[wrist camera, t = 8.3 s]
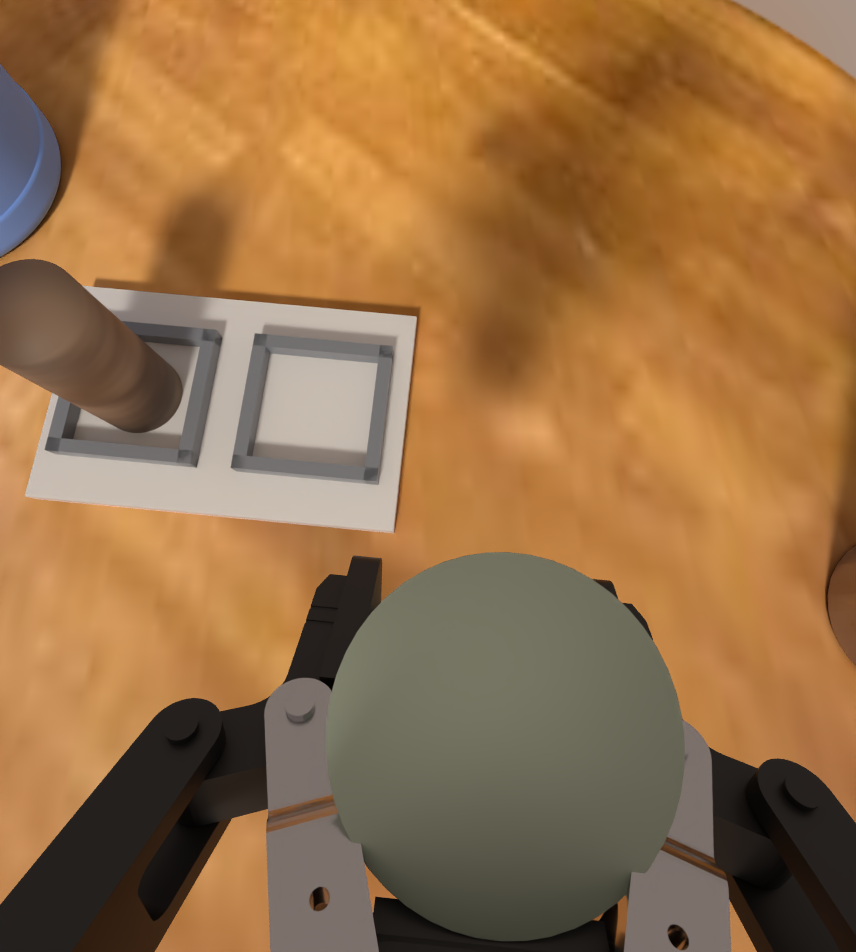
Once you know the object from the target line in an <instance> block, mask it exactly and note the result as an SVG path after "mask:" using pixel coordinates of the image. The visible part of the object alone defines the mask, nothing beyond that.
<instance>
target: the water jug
mask: <svg viewBox="0 0 856 952" xmlns="http://www.w3.org/2000/svg"><path fill="white" fill-rule="evenodd" d="M60 174H61V157H60V150H59V146H58V142H57V139H56V136H55V134H54V131H53V129H52V127H51V125H50V123H49V122H48V120H47V119H46V117H45V116H44V114H43V113H42V112H41V111H40V109H39V108H38V107H37V106H36V104H35V103H34V102H33V100H32V99H31V98H30V97H29V95H28V94H27V93H26V92H25V91H24V90H23V89H22V88H21V87H20V86H19V85H18V84H17V83H16V82H15V81H14V80H13V79H12V78H11V76H10V75H9V74H8V73H7V71H6V70H5V69H4V68H3V66H2V65H1V64H0V257H1V256H3V255H5V254H6V253H8V252H9V251H11V250H12V249H14V248H15V247H16V246H18V245H19V244H20V243H21V242H23V241H24V240H25V239H26V238H27V237H28V236H29V235H30V234H31V233H32V232H33V231H34V230H35V229H36V228H37V226H38V225H39V224H40V223H41V221H42V220H43V218H44V217H45V215H46V214H47V212H48V210H49V209H50V207H51V205H52V203H53V200H54V198H55V195H56V193H57V189H58V186H59V181H60Z"/></svg>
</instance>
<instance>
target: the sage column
mask: <svg viewBox="0 0 856 952" xmlns="http://www.w3.org/2000/svg"><path fill="white" fill-rule="evenodd" d="M326 757H327V767H328V776H329V780H330V785H331V789H332V794H333V798H334V801H335V804H336V807H337V810H338V813H339V816H340V818H341V821H342V824H343V826H344V828H345V830H346V832H347V834H348V836H349V838H350V840H351V842H352V843H358V844H361V847H362V853H363V859H364V863H365V864H366V866H367V867H368V869H369V870H370V871H371V872H372V873H373V874H374V876H375V877H376V878H377V879H378V880H379V881H380V882H381V883H382V885H383V886H384V887H385V888H386V889H387V890H388V891H389V892H390V893H392V894H393V895H394V896H395V897H396V898H397V899H399V900H400V901H401V902H402V903H403V904H404V905H406V906H407V907H408V908H410V909H412V910H413V911H415V912H416V913H418V914H419V915H421V916H422V917H424V918H426V919H427V920H429V921H431V922H433V923H435V924H438V925H440V926H442V927H444V928H446V929H449V930H451V931H454V932H457V933H461V934H464V935H467V936H471V937H474V938H480V939H487V940H495V941H529V940H534V939H540V938H546V937H552V936H554V935H557V934H560V933H563V932H566V931H569V930H572V929H575V928H577V927H579V926H581V925H583V924H585V923H587V922H589V921H591V920H593V919H595V918H597V917H598V916H600V915H601V914H602V913H604V912H605V911H607V910H608V909H609V908H611V907H612V906H613V905H615V904H616V903H618V902H619V901H620V900H621V899H622V898H623V897H624V896H625V895H626V892H627V888H628V884H629V880H630V876H631V872H636V873H646V871H647V870H648V869H649V867H650V866H651V865H652V863H653V862H654V860H655V858H656V856H657V855H658V853H659V851H660V849H661V848H662V846H663V844H664V842H665V840H666V838H667V835H668V833H669V830H670V828H671V825H672V823H673V821H674V818H675V814H676V811H677V807H678V803H679V799H680V796H681V790H682V783H683V775H684V766H685V740H684V731H683V721H682V715H681V711H680V706H679V702H678V698H677V693H676V690H675V688H674V685H673V682H672V679H671V676H670V674H669V671H668V668H667V666H666V664H665V662H664V660H663V658H662V656H661V654H660V652H659V650H658V648H657V647H656V645H655V644H654V642H653V641H652V639H651V638H650V636H649V634H648V633H647V631H646V630H645V628H644V627H643V626H642V625H641V623H640V622H639V621H638V620H637V619H636V617H635V616H634V615H633V614H632V613H631V612H630V610H629V609H628V608H627V607H626V606H625V605H624V604H622V603H621V602H620V601H619V600H618V599H617V598H616V597H615V596H614V595H613V594H612V593H610V592H609V591H608V590H606V589H605V588H604V587H602V586H601V585H599V584H598V583H597V582H595V581H594V580H593V579H591V578H589V577H587V576H585V575H583V574H582V573H580V572H578V571H576V570H574V569H572V568H570V567H567V566H565V565H562V564H560V563H557V562H555V561H552V560H549V559H545V558H541V557H537V556H533V555H527V554H519V553H510V552H495V553H481V554H474V555H467V556H463V557H459V558H456V559H452V560H449V561H445V562H443V563H440V564H438V565H436V566H433V567H431V568H429V569H426V570H424V571H422V572H421V573H419V574H417V575H416V576H414V577H413V578H411V579H409V580H408V581H406V582H404V583H403V584H402V585H401V586H399V587H398V588H397V589H396V590H394V591H393V592H392V593H391V594H389V595H388V596H387V597H386V598H385V599H384V600H383V601H382V602H381V603H380V604H379V605H378V606H377V607H376V608H375V609H374V610H373V611H372V613H371V614H370V615H369V616H368V618H367V619H366V621H365V622H364V623H363V625H362V626H361V627H360V629H359V630H358V631H357V633H356V635H355V637H354V638H353V640H352V642H351V644H350V645H349V647H348V649H347V651H346V653H345V655H344V657H343V660H342V662H341V665H340V667H339V670H338V672H337V675H336V678H335V682H334V685H333V689H332V693H331V696H330V702H329V708H328V715H327V722H326Z"/></svg>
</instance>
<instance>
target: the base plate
mask: <svg viewBox="0 0 856 952" xmlns="http://www.w3.org/2000/svg"><path fill="white" fill-rule="evenodd" d="M83 287H84V288H85V289H86V290H87V291H88V292H90V293H91V294H92V295H93V296H94V297H95V298H96V299H97V300H98V301H100V302H101V303H102V304H103V305H104V306H105V307H106V308H107V309H108V310H110V311H111V312H112V313H113V314H114V315H115V316H116V317H117V318H118V319H120V320H121V321H122V322H123V323H124V324H125V325H126V326H127V327H128V328H130V329H131V330H132V331H133V332H134V333H135V334H136V335H137V336H138V337H140V338H141V339H142V340H143V341H144V342H145V343H146V344H147V345H148V346H149V347H151V348H152V349H153V350H154V351H155V352H156V353H157V354H158V355H159V356H161V357H162V358H163V359H164V360H165V361H166V362H167V363H168V364H169V365H171V366H172V367H173V368H174V369H175V371H176V372H177V373H178V375H179V377H180V380H181V383H182V391H183V392H182V399H181V403H180V405H179V408H178V409H177V411H176V413H175V414H174V416H173V417H172V418H171V419H170V420H169V421H168V422H167V423H165V424H164V425H162V426H161V427H159V428H157V429H155V430H152V431H149V432H144V433H130V432H126V431H123V430H120V429H118V428H117V427H115V426H113V425H111V424H109V423H107V422H105V421H104V420H102V419H100V418H98V417H96V416H94V415H92V414H91V413H89V412H87V411H85V410H83V409H81V408H79V407H78V406H76V405H74V404H72V403H70V402H68V401H66V400H65V399H63V398H61V397H59V396H57V395H55V394H54V393H52V396H51V399H50V403H49V407H48V411H47V414H46V418H45V422H44V426H43V429H42V433H41V437H40V441H39V445H38V448H37V452H36V456H35V460H34V463H33V467H32V471H31V475H30V478H29V482H28V486H27V490H26V493H25V496H26V497H30V498H34V499H40V500H51V501H61V502H72V503H82V504H92V505H103V506H113V507H124V508H134V509H145V510H155V511H165V512H176V513H186V514H197V515H207V516H218V517H228V518H238V519H249V520H259V521H270V522H280V523H291V524H301V525H311V526H322V527H332V528H343V529H353V530H364V531H374V532H385V533H394V530H395V521H396V512H397V503H398V494H399V484H400V475H401V466H402V457H403V448H404V438H405V429H406V420H407V411H408V402H409V392H410V383H411V374H412V365H413V356H414V346H415V337H416V328H417V316H406V315H395V314H385V313H374V312H363V311H352V310H341V309H330V308H319V307H308V306H297V305H286V304H275V303H264V302H254V301H243V300H232V299H221V298H210V297H199V296H188V295H177V294H166V293H155V292H144V291H133V290H122V289H112V288H101V287H90V286H83Z"/></svg>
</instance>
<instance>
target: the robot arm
mask: <svg viewBox="0 0 856 952" xmlns="http://www.w3.org/2000/svg"><path fill="white" fill-rule="evenodd" d="M593 580H594V581H595V582H597V583H598V584H599V585H601V586H602V587H604V588H605V589H606V590H608V591H609V592H610V593H612V594H613V595H614V596H615V597H616V598H617V599H618V597H617V594H616V591H615V588H614V585H613V583H612V582H611V581H607V580H597V579H593ZM381 584H382V558H373V557H363V556H353V557H352V560H351V563H350V567H349V571H348V574H347V576H343V575H333V574H330V575H329V576H328V577H327V578H326V579H325V580H324V581H323V582H322V583H321V584H320V585H319V586H318V587H317V589H316V592H315V595H314V598H313V601H312V604H311V609H310V610H309V613H308V616H307V619H306V623H305V625H304V628H303V631H302V633H301V636H300V639H299V642H298V645H297V648H296V651H295V654H294V657H293V660H292V663H291V666H290V669H289V672H288V675H287V677H286V679H285V681H284V682H283V684H282V685H281V686H280V687H278V688H277V689H276V690H275V691H274V692H273V693H272V694H271V696H269V697H268V698H266V699H265V700H263V701H261V702H258V703H256V704H253V705H249V706H244V707H239V708H235V709H230V710H225V711H220V712H219V709H218V708H217V707H216V706H215V705H214V704H213V703H211V702H209V701H207V700H204V699H199V698H191V699H185V700H181V701H178V702H175V703H173V704H171V705H169V706H168V707H166V708H165V709H163V710H162V711H161V712H159V713H158V714H157V715H156V716H155V717H154V718H153V720H152V721H151V722H150V723H149V724H148V726H147V727H146V728H145V729H144V730H143V732H142V733H141V734H140V735H139V737H138V738H137V739H136V740H135V741H134V743H133V744H132V745H131V746H130V748H129V749H128V750H127V751H126V752H125V754H124V755H123V756H122V757H121V758H120V760H119V761H118V762H117V763H116V765H115V766H114V767H113V768H112V769H111V771H110V772H109V773H108V774H107V776H106V777H105V778H104V779H103V780H102V782H101V783H100V784H99V785H98V786H97V788H96V789H95V790H94V791H93V793H92V794H91V795H90V796H89V797H88V799H87V800H86V801H85V802H84V804H83V805H82V806H81V807H80V808H79V810H78V811H77V812H76V813H75V814H74V816H73V817H72V818H71V819H70V821H69V822H68V823H67V824H66V825H65V827H64V828H63V829H62V830H61V832H60V833H59V834H58V835H57V836H56V838H55V839H54V840H53V841H52V842H51V844H50V845H49V846H48V847H47V849H46V850H45V851H44V852H43V853H42V855H41V856H40V857H39V858H38V859H37V861H36V862H35V863H34V864H33V866H32V867H31V868H30V869H29V870H28V872H27V873H26V874H25V875H24V877H23V878H22V879H21V880H20V881H19V883H18V884H17V885H16V886H15V887H14V889H13V890H12V891H11V892H10V894H9V895H8V896H7V897H6V898H5V900H4V901H3V902H2V903H1V905H0V952H155V950H156V948H157V947H158V945H159V943H160V942H161V940H162V938H163V936H164V935H165V933H166V931H167V929H168V928H169V926H170V924H171V923H172V921H173V919H174V917H175V916H176V914H177V912H178V911H179V909H180V907H181V905H182V904H183V902H184V900H185V898H186V897H187V895H188V893H189V892H190V890H191V888H192V886H193V885H194V883H195V881H196V880H197V878H198V876H199V874H200V873H201V871H202V869H203V867H204V866H205V864H206V862H207V861H208V859H209V857H210V855H211V854H212V852H213V850H214V849H215V847H216V845H217V843H218V842H219V840H220V838H221V836H222V835H223V833H224V831H225V830H226V828H227V826H228V824H229V823H230V821H231V819H232V818H234V817H238V816H242V815H246V814H250V813H254V812H257V811H261V810H265V809H268V820H267V826H266V839H267V868H268V895H269V923H270V950H271V952H731V937H730V912H729V900H730V902H731V903H732V905H733V907H734V909H735V911H736V913H737V915H738V917H739V919H740V920H741V922H742V924H743V926H744V928H745V930H746V932H747V934H748V935H749V937H750V939H751V941H752V943H753V945H754V947H755V949H756V951H757V952H856V823H855V822H854V820H853V819H852V818H851V817H850V815H849V814H848V813H847V811H846V810H845V809H844V808H843V806H842V805H841V804H840V802H839V801H838V800H837V798H836V797H835V796H834V795H833V793H832V792H831V791H830V789H829V788H828V787H827V786H826V785H825V784H824V783H823V782H822V781H821V780H820V779H819V778H818V777H817V776H816V775H814V774H813V773H812V772H810V771H809V770H807V769H806V768H804V767H802V766H801V765H799V764H797V763H794V762H792V761H788V760H785V759H770V760H767V761H765V762H764V763H763V764H762V765H761V766H760V767H759V768H755V767H753V766H750V765H748V764H745V763H743V762H740V761H738V760H735V759H733V758H730V757H728V756H725V755H723V754H721V753H719V752H716V751H715V750H713V749H711V748H710V747H708V745H707V743H706V742H705V740H704V739H703V737H702V736H701V735H700V734H699V732H698V731H697V730H696V729H695V728H694V727H692V726H691V725H690V724H688V723H687V722H685V721H684V720H683V719H682V721H683V731H684V740H685V766H684V775H683V783H682V790H681V796H680V799H679V803H678V807H677V811H676V814H675V818H674V821H673V823H672V825H671V828H670V830H669V833H668V835H667V838H666V840H665V842H664V844H663V846H662V848H661V849H660V851H659V853H658V855H657V856H656V858H655V860H654V862H653V863H652V865H651V866H650V867H649V869H648V870H647V871H646V873H636V872H631V876H630V880H629V884H628V888H627V892H626V895H625V896H624V897H623V898H622V899H621V900H620V901H619V902H618V903H616V904H615V905H613V906H612V907H611V908H609V909H608V910H607V911H605V912H604V913H602V914H601V915H600V916H598V917H597V918H595V919H593V920H591V921H589V922H587V923H585V924H583V925H581V926H579V927H577V928H575V929H572V930H569V931H566V932H563V933H560V934H557V935H554V936H552V937H546V938H540V939H534V940H529V941H495V940H487V939H480V938H474V937H471V936H467V935H464V934H461V933H457V932H454V931H451V930H449V929H446V928H444V927H442V926H440V925H438V924H435V923H433V922H431V921H429V920H427V919H426V918H424V917H422V916H421V915H419V914H418V913H416V912H415V911H413V910H412V909H410V908H408V907H407V906H406V905H404V904H403V903H402V902H401V901H400V900H399V899H391V898H382V897H375V905H374V913H372V907H371V901H370V895H369V889H368V883H367V877H366V871H365V865H364V859H363V853H362V847H361V844H358V843H352V842H351V840H350V838H349V836H348V834H347V832H346V830H345V828H344V826H343V824H342V821H341V818H340V816H339V813H338V810H337V807H336V804H335V801H334V798H333V794H332V789H331V785H330V780H329V776H328V767H327V757H326V722H327V715H328V708H329V702H330V696H331V693H332V689H333V685H334V682H335V678H336V675H337V672H338V670H339V667H340V665H341V662H342V660H343V657H344V655H345V653H346V651H347V649H348V647H349V645H350V644H351V642H352V640H353V638H354V637H355V635H356V633H357V631H358V630H359V629H360V627H361V626H362V625H363V623H364V622H365V621H366V619H367V618H368V616H369V615H370V614H371V613H372V611H373V610H374V609H375V608H376V607H377V606H378V605H379V604H380V603H381ZM622 604H624V605H625V606H626V607H627V608H628V609H629V610H630V612H631V613H632V614H633V615H634V616H635V617H636V619H637V620H638V621H639V622H640V623H641V625H642V626H643V627H644V628H645V630H646V631H647V633H648V634H649V636H650V638H651V639H652V641H653V638H652V636H651V633H650V630H649V628H648V625H647V622H646V620H645V619H644V618H643V617H642V616H641V614H640V613H639V612H638V611H637V610H636V608H635V607H634V606H633V605H632V604H627V603H622ZM828 612H829V616H830V621H831V625H832V629H833V631H834V633H835V635H836V638H837V640H838V642H839V644H840V646H841V647H842V649H843V650H844V652H845V653H846V655H847V656H848V658H849V659H850V660H851V661H852V662H853V663H854V664H855V665H856V546H854V547H853V548H852V549H850V550H849V551H848V552H846V553H845V555H844V556H843V557H842V559H841V560H840V561H839V562H838V564H837V565H836V568H835V570H834V572H833V574H832V577H831V579H830V585H829V590H828Z"/></svg>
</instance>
